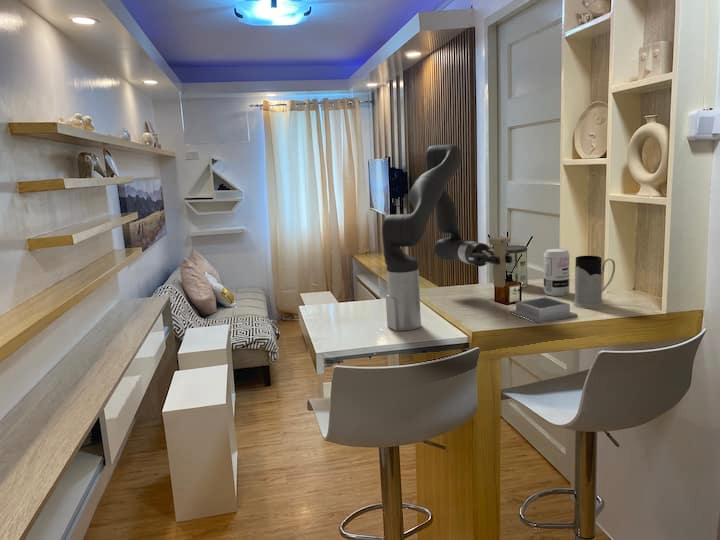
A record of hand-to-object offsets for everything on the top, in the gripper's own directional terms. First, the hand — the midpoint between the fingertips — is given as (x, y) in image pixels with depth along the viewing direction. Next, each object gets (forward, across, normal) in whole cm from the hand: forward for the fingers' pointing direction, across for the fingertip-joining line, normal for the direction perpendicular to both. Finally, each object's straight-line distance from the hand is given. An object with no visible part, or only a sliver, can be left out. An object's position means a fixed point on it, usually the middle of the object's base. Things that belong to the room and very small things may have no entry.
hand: (504, 260), depth 181 cm
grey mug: (+6, +29, +16) cm, 34 cm away
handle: (-3, 0, +9) cm, 9 cm away
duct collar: (+7, +8, +16) cm, 20 cm away
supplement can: (-11, +28, +16) cm, 35 cm away
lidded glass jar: (-30, +24, +16) cm, 42 cm away
